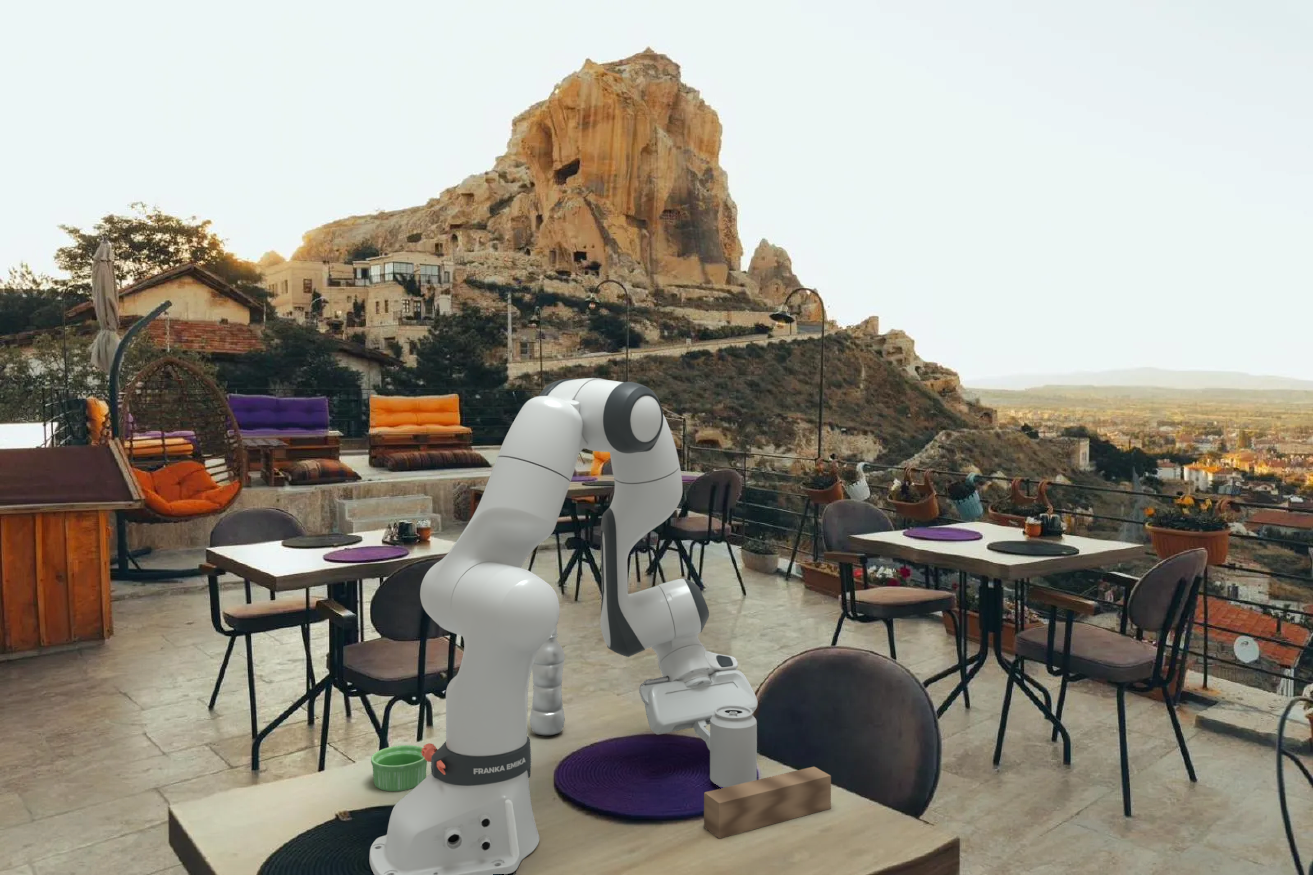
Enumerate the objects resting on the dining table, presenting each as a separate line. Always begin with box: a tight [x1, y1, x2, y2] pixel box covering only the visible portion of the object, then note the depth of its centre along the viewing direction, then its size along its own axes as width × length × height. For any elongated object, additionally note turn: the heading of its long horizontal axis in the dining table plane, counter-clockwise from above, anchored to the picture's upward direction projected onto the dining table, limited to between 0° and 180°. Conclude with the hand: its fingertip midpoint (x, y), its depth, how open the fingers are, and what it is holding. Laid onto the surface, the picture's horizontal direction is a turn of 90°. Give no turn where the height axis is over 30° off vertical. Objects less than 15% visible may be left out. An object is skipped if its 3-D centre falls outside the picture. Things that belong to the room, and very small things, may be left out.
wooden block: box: [703, 766, 832, 840], centre depth 128 cm, size 20×4×5 cm, turn 119°
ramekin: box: [370, 744, 428, 792], centre depth 141 cm, size 9×9×4 cm
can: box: [709, 705, 758, 788], centre depth 140 cm, size 8×8×12 cm
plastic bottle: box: [529, 625, 566, 736], centre depth 162 cm, size 6×7×20 cm
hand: (718, 747), depth 144 cm, fingers closed, pressing on can
